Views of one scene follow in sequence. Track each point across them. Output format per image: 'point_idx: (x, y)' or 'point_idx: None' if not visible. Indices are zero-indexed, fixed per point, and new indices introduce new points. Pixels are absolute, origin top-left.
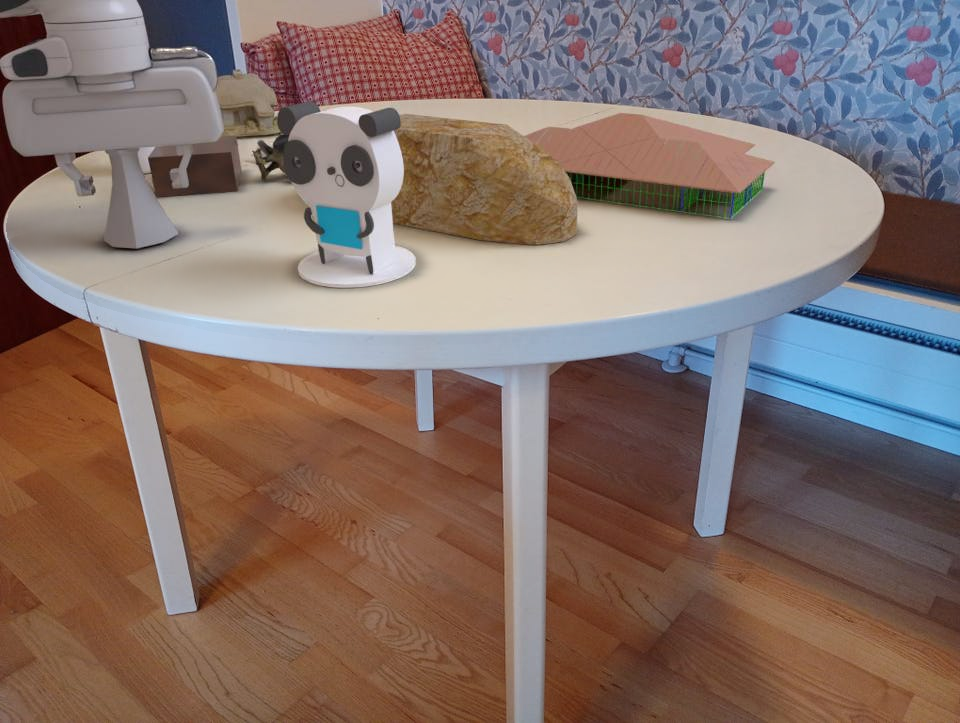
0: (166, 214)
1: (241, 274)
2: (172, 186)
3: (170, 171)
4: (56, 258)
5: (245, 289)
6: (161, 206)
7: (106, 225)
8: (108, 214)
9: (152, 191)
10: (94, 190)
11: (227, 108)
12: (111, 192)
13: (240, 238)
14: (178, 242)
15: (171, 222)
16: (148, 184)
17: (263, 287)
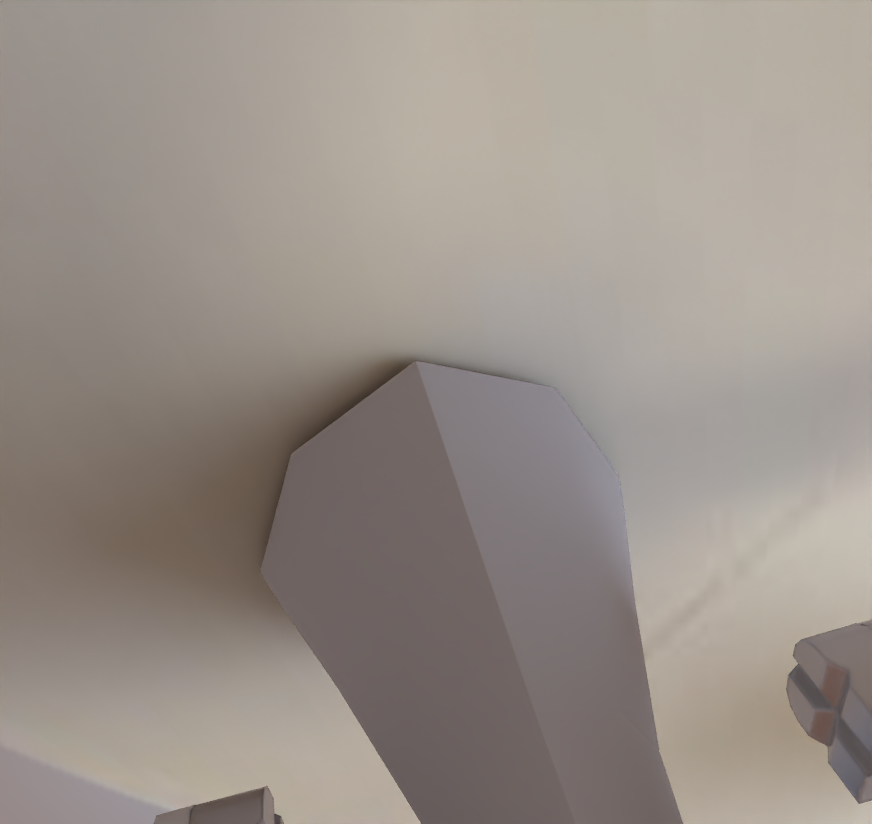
0: (628, 559)
1: (815, 747)
2: (795, 714)
3: (869, 780)
4: (123, 725)
5: (811, 809)
6: (634, 600)
7: (296, 626)
8: (325, 667)
9: (646, 684)
10: (273, 816)
11: None
12: (395, 778)
13: (862, 488)
14: None
15: (623, 522)
16: (655, 732)
17: (852, 795)
